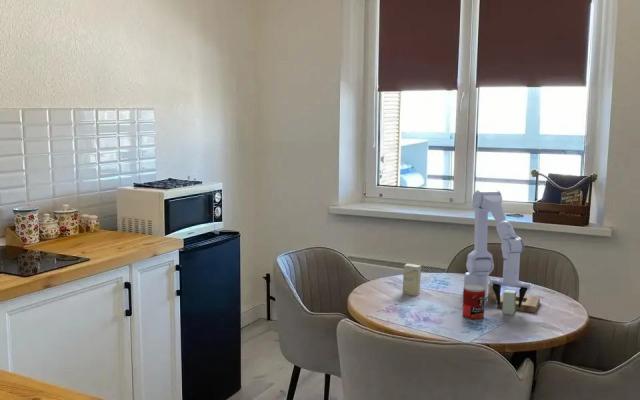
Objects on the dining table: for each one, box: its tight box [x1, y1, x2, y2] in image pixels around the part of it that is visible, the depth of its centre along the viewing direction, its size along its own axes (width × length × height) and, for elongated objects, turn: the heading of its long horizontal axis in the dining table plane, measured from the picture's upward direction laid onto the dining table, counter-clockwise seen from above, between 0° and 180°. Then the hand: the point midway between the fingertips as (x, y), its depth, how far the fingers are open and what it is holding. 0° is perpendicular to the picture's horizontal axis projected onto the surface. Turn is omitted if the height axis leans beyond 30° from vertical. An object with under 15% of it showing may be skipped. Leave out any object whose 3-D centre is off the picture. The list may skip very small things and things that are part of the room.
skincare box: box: [402, 263, 422, 297], centre depth 252 cm, size 6×4×12 cm
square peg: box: [502, 289, 517, 315], centre depth 229 cm, size 4×4×8 cm
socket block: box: [496, 293, 541, 314], centre depth 239 cm, size 14×14×2 cm
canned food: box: [462, 284, 486, 320], centre depth 224 cm, size 8×8×11 cm
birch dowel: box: [487, 283, 497, 304], centre depth 242 cm, size 4×4×7 cm
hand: (509, 305), depth 229 cm, fingers open, 7 cm apart
